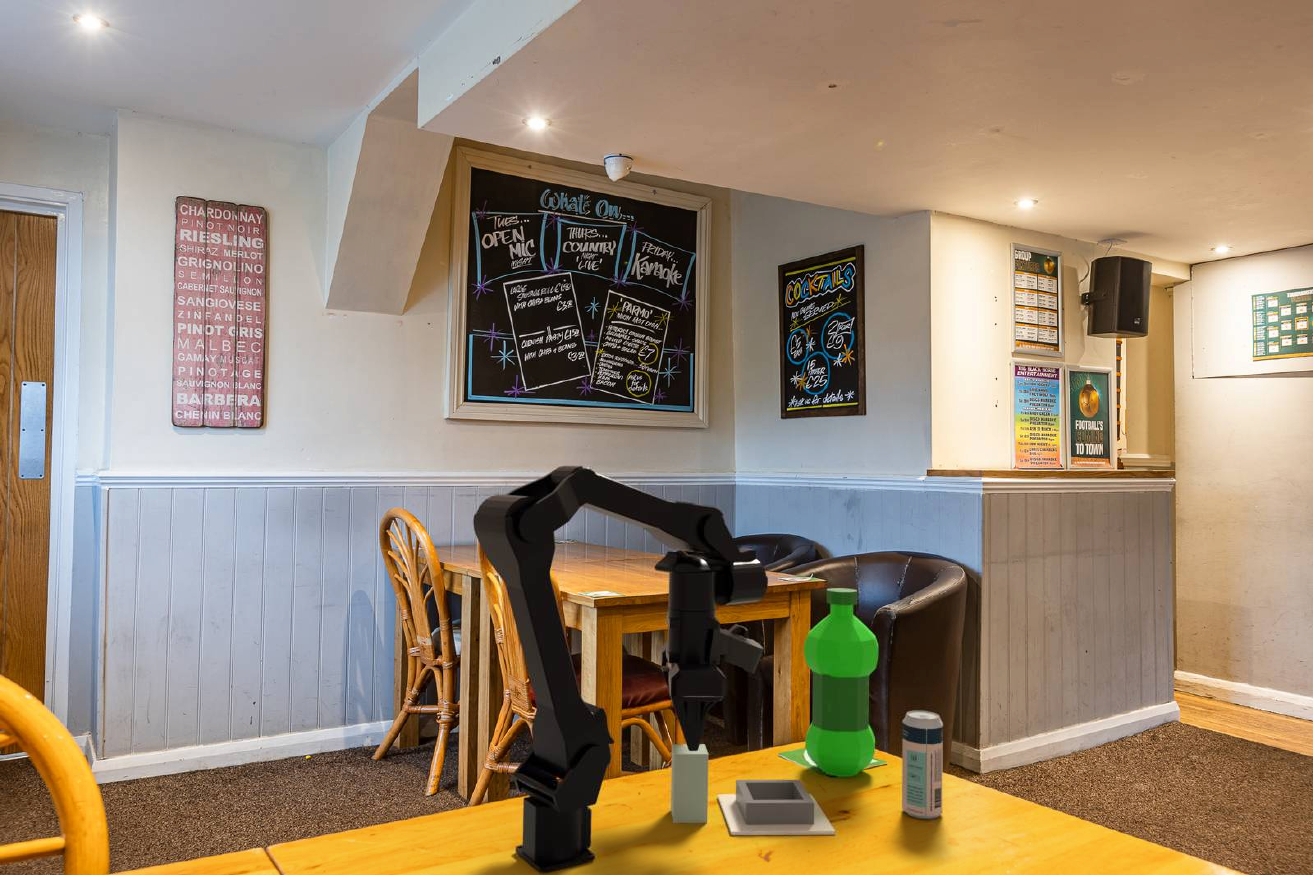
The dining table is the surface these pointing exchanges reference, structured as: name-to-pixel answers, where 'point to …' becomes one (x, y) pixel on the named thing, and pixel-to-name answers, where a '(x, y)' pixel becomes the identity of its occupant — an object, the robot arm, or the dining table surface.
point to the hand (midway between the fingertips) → (689, 739)
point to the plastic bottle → (841, 688)
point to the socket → (773, 809)
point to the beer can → (922, 764)
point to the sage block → (689, 784)
